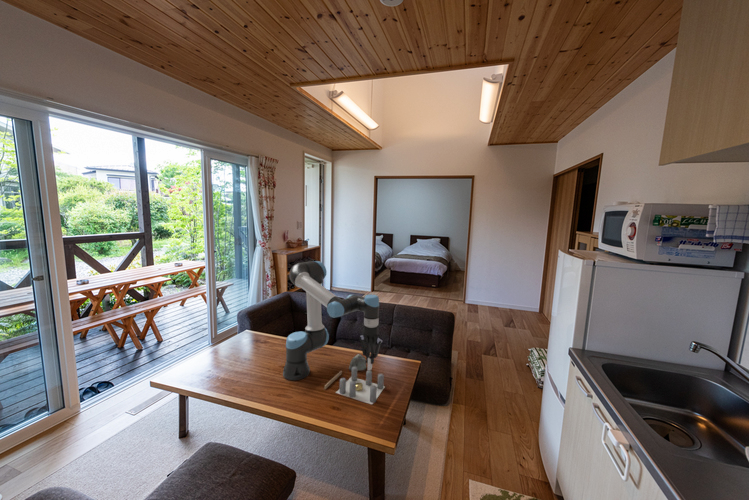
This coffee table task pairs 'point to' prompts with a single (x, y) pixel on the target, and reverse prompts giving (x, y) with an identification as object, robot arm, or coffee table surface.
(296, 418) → the coffee table surface
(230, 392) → the coffee table surface
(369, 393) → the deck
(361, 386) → the brass dome
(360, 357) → the stone
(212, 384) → the coffee table surface
